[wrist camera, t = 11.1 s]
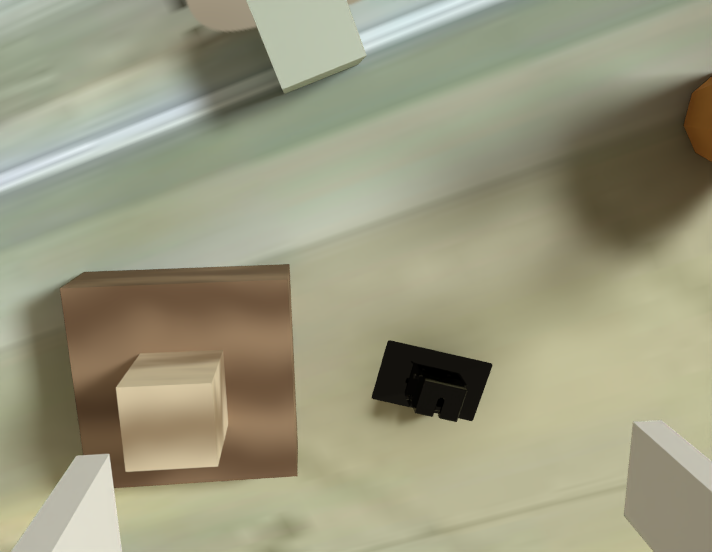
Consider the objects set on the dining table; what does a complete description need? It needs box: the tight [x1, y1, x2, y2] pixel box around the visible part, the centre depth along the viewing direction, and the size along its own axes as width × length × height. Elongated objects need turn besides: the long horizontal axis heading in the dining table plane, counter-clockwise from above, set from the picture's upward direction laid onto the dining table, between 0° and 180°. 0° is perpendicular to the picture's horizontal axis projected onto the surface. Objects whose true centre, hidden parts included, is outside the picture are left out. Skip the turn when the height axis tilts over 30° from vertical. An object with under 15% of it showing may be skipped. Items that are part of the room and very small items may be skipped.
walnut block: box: [60, 264, 298, 488], centre depth 48 cm, size 16×16×5 cm
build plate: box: [372, 341, 492, 422], centre depth 51 cm, size 12×7×5 cm, turn 74°
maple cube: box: [116, 350, 228, 472], centre depth 43 cm, size 6×6×6 cm
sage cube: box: [246, 0, 366, 94], centre depth 42 cm, size 6×6×6 cm
